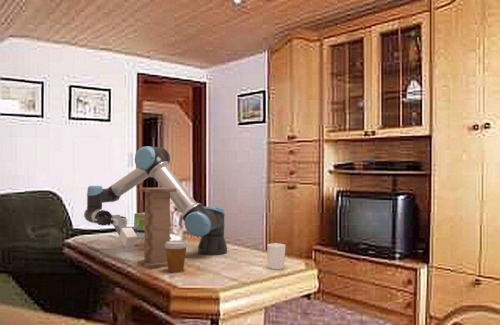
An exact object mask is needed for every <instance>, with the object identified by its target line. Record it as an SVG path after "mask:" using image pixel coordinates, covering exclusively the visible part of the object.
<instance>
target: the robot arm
mask: <svg viewBox="0 0 500 325" xmlns="http://www.w3.org/2000/svg"><path fill="white" fill-rule="evenodd" d="M170 162H171V155H170V153H169V151H168V150H167V149H166V148H164V147H161V146H160V147H159V146H158V147H157V146H150V145H149V146H148V145H147V146H142V147H140V148H139V149H137V151H136V153H135V155H134V164H135V166H136V168H135V169H133V170H132V171H131V172H128V174H126V175H125V176H123V177H122V178H121V179H119V180H118V181H116V182H114V183H113V184H112V185H111V186H109V187H106V188H103V186H102V185H89V186H88V187H87V191H86V198H87V200H86V210H85V211H84V214H83V217H84V219H85V220H86V221H87V222H89V223H93V224H97V225H98V226H111V225H112V226H113V225H116V226H118V220H117V219H113V218H111V216H112V215H113V214H112V213H110V211H108V210H106V209H105V210H104V209H103V204H104V203H114V202H117V201H119V200H120V199H121V196H123V195H124V194H125V193H127V192H129V190H132V189H133V188H135V187H136V186H137V185H139V184H140V183H142V182H144V181H145V180H146V179H148V178H153V179H155V181H156V183H158V184H159V187H165V188H176V192H170V201H172V202H173V204H174V205H175V206H176V207H177V208H178V210H179V211H180V213H181V215H182V217H181V218H182V220H183V222H184V228H185V229H186V231H187V233H188V234H190V235H191V236H193V237H200V240H199V242H198V246H197V253H198V254H201V255H206V256H207V255H209V256H210V255H211V256H212V255H213V256H215V255H224V254H227V253H228V245H227V242H226V238H225V215H226V214H225V209H224V208H223V207H219V206H218V207H216V206H204V205H203V204H202V202H201V203H200V202H197V201H196V199H194V198H193V196H191V194H190V193H189V192H188V190H187V189H186V188H185V186H184V185H183V184H182V183H181V181H180V180H179V179H178V178H177V176H175V174H174V173H173V171H172V170H171V169H170V167H169V165H170ZM120 216H121V218H122V220H123V221H124V223H125V224H126V226H128V218H127V217H126V216H122V215H120ZM110 219H111V220H110Z"/></svg>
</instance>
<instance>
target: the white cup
mask: <svg viewBox="0 0 500 325" xmlns="http://www.w3.org/2000/svg"><path fill="white" fill-rule="evenodd" d="M285 257H286V244H283V243H278V242H277V243H276V242H275V243H269V244H267V264H268V266H267V267H268V269H270V268H272V269H271V270H282V269H281V268H283V269H284V268H285V259H286V258H285Z"/></svg>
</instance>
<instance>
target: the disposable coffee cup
mask: <svg viewBox="0 0 500 325" xmlns="http://www.w3.org/2000/svg"><path fill="white" fill-rule="evenodd" d="M165 248H166V256H167V264H168V267H167V271H168V272H170V273H181V272H184V268H185V259H186V252H187V248H188V242H187V241H186V240H170V241H167V242H166V244H165Z"/></svg>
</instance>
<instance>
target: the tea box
mask: <svg viewBox="0 0 500 325" xmlns="http://www.w3.org/2000/svg"><path fill="white" fill-rule="evenodd" d="M133 216H134V218H133V230H134V232H135V233H136V235H137V239H144V240H145V211H143V212H136V213H134V215H133Z"/></svg>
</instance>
